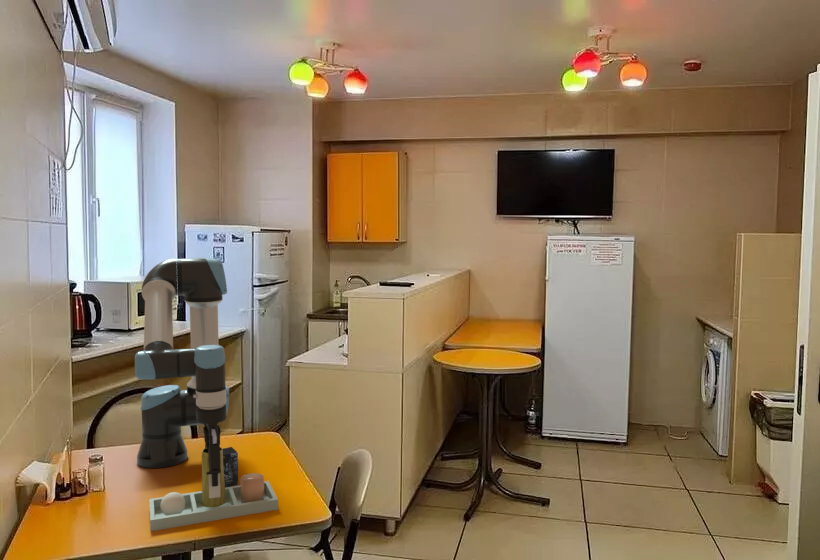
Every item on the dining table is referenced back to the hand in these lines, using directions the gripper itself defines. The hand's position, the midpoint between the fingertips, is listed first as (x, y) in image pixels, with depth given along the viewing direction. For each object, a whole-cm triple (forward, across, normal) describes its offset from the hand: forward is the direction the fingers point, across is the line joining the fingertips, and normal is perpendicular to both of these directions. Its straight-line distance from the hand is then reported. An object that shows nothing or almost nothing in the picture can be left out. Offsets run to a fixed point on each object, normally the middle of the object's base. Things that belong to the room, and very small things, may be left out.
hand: (213, 492), depth 168 cm
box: (+6, -16, +4) cm, 17 cm away
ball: (+5, 0, -10) cm, 11 cm away
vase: (+3, 0, 0) cm, 3 cm away
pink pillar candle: (+5, 0, +10) cm, 11 cm away
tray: (+5, 0, 0) cm, 5 cm away
